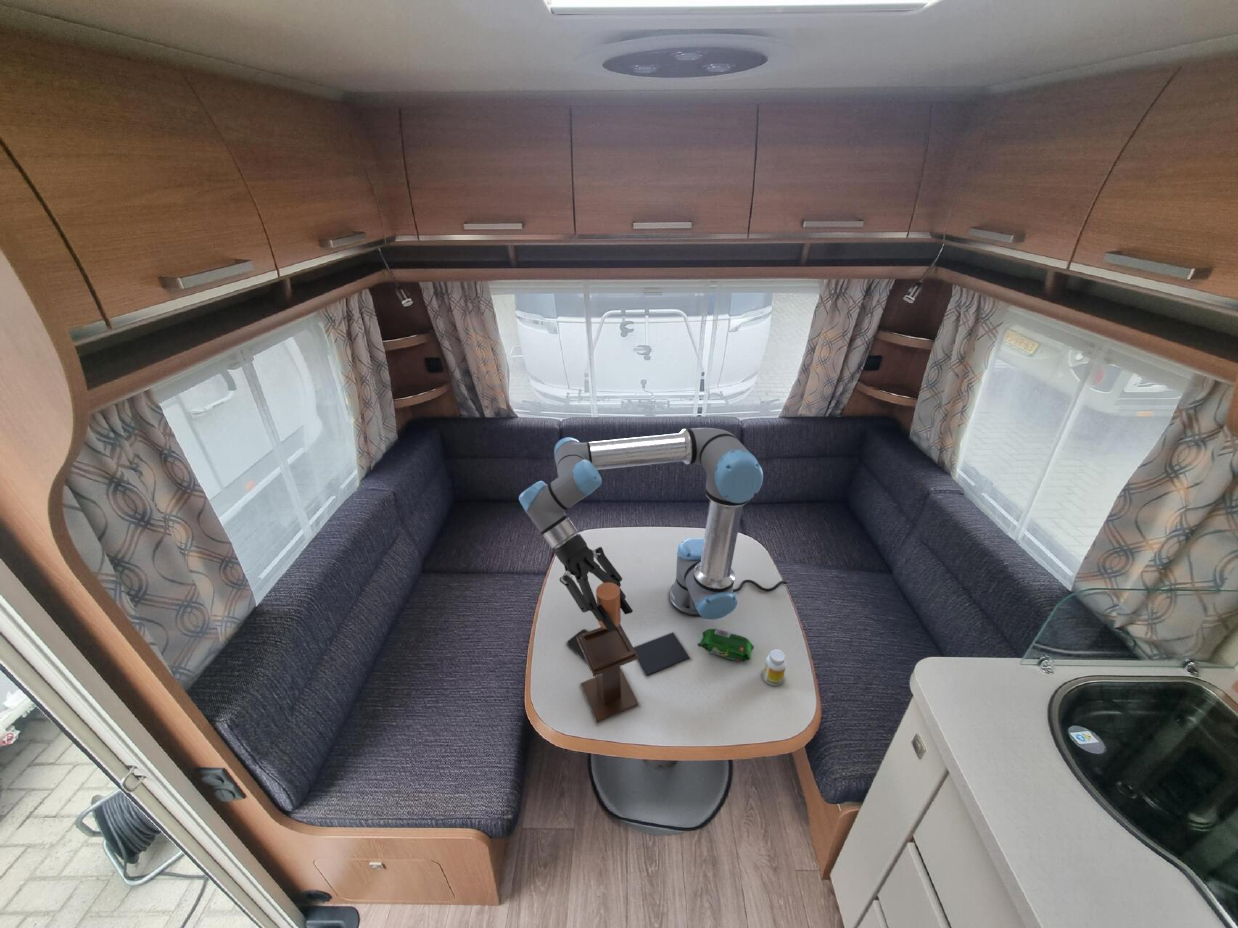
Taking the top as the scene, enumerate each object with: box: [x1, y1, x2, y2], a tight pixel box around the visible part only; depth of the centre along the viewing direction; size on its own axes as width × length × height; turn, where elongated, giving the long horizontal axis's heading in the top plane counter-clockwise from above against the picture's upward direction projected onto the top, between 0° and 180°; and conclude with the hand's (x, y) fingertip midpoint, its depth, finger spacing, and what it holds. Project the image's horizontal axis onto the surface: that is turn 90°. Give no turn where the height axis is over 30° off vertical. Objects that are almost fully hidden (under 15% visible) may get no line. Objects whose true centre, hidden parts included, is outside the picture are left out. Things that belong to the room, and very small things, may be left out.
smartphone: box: [566, 628, 590, 663], centre depth 145 cm, size 8×1×16 cm
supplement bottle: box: [762, 648, 787, 686], centre depth 135 cm, size 5×5×10 cm
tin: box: [595, 582, 622, 629], centre depth 117 cm, size 6×6×10 cm
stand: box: [577, 623, 639, 724], centre depth 128 cm, size 12×12×21 cm
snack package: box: [697, 628, 755, 663], centre depth 144 cm, size 7×16×5 cm, turn 69°
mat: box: [633, 632, 690, 677], centre depth 144 cm, size 14×10×1 cm
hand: (620, 620), depth 116 cm, fingers closed on tin, 6 cm apart
